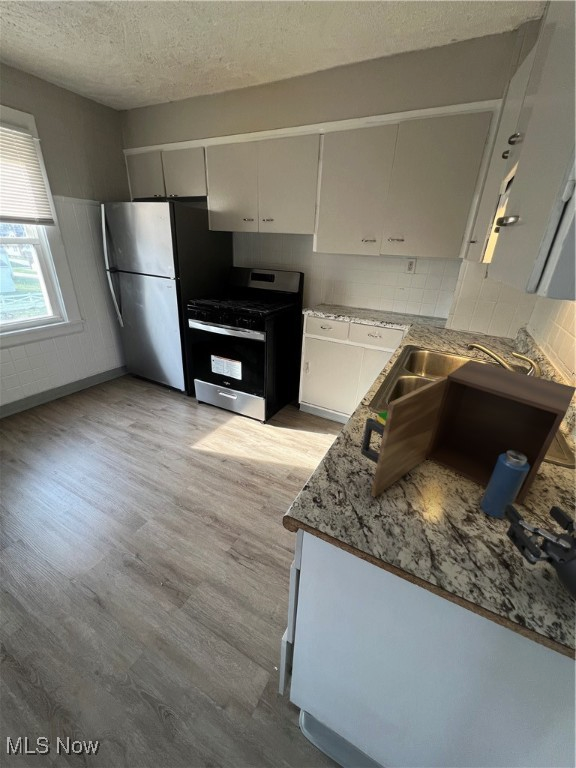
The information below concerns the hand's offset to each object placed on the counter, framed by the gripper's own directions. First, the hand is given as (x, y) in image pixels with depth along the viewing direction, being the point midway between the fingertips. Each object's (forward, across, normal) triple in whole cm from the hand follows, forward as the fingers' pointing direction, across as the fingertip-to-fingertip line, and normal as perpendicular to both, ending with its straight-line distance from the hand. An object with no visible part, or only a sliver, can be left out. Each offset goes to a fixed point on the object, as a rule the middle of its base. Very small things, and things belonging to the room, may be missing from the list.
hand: (529, 508), depth 58 cm
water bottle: (+7, 0, +8) cm, 11 cm away
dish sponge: (+38, +11, +8) cm, 40 cm away
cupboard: (+22, -5, +8) cm, 24 cm away
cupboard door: (+19, +19, +8) cm, 28 cm away
